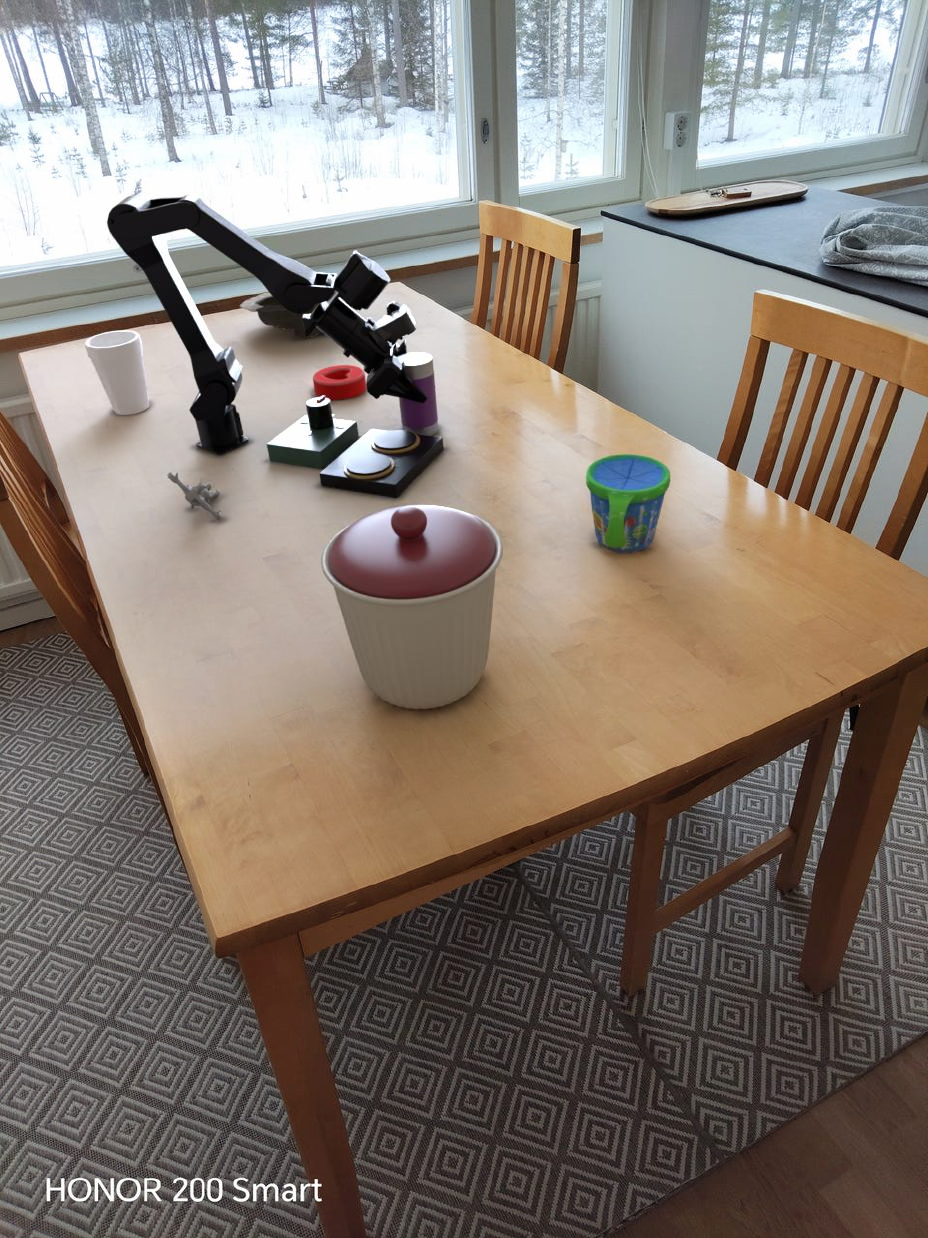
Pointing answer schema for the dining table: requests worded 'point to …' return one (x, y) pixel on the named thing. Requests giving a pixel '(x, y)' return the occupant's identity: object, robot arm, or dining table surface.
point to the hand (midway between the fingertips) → (425, 393)
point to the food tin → (421, 373)
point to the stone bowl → (278, 314)
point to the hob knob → (319, 413)
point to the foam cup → (120, 369)
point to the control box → (312, 443)
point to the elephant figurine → (198, 495)
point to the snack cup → (626, 500)
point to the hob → (382, 462)
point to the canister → (416, 600)
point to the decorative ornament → (339, 382)
